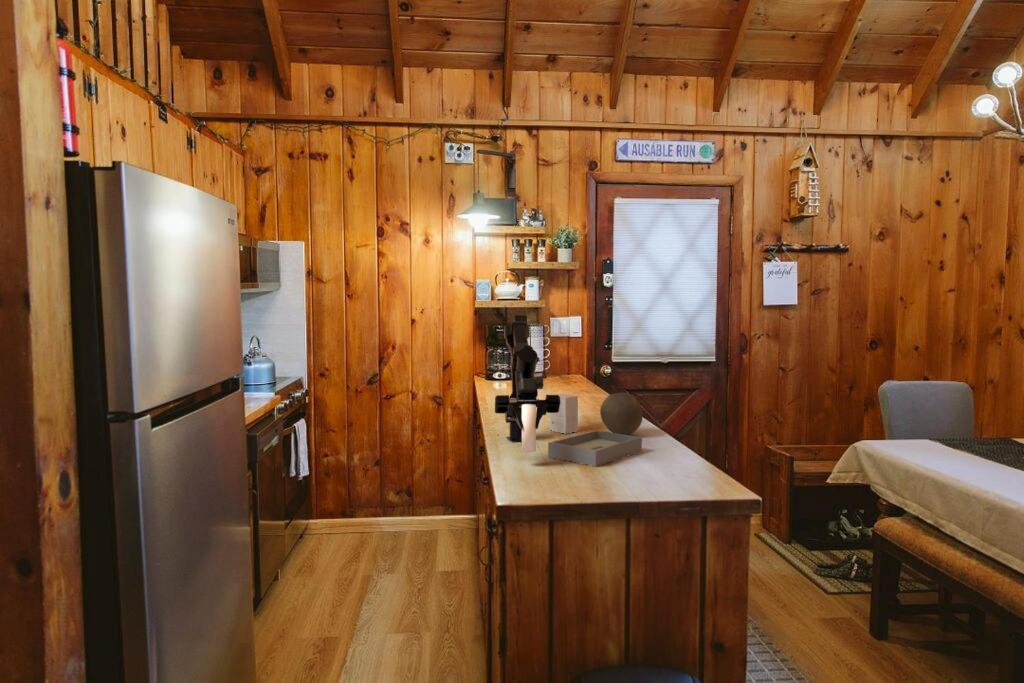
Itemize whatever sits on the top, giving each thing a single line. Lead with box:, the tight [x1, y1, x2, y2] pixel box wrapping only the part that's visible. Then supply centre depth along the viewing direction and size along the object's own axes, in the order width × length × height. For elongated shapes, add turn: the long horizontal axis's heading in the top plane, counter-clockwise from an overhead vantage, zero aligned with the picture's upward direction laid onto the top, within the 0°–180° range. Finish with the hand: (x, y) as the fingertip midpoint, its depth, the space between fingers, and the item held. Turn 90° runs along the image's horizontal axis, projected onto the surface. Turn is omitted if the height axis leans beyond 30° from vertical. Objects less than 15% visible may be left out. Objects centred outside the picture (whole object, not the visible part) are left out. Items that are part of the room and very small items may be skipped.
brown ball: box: [599, 392, 644, 436], centre depth 226 cm, size 14×14×15 cm
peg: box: [521, 404, 537, 453], centre depth 185 cm, size 4×4×13 cm
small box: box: [549, 393, 579, 435], centre depth 233 cm, size 8×6×13 cm
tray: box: [547, 429, 643, 467], centre depth 199 cm, size 17×25×4 cm
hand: (529, 428), depth 184 cm, fingers closed on peg, 4 cm apart
